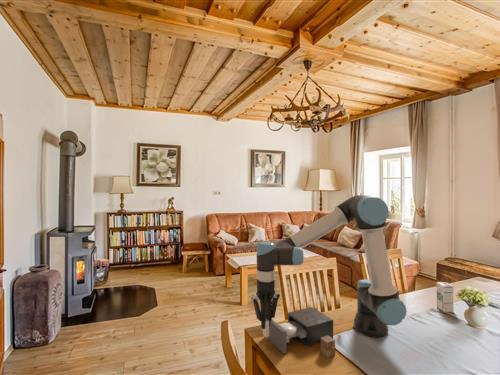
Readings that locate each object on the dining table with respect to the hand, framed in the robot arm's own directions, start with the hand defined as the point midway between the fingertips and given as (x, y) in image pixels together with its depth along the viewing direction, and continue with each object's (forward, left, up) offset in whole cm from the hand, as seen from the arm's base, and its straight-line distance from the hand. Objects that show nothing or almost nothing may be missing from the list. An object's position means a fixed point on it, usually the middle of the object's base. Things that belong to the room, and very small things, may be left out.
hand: (265, 335), depth 117 cm
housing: (-23, 0, -5) cm, 24 cm away
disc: (-11, 0, -1) cm, 11 cm away
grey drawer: (-11, 0, -5) cm, 12 cm away
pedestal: (-20, +15, -5) cm, 26 cm away
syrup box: (-106, +13, -6) cm, 107 cm away
